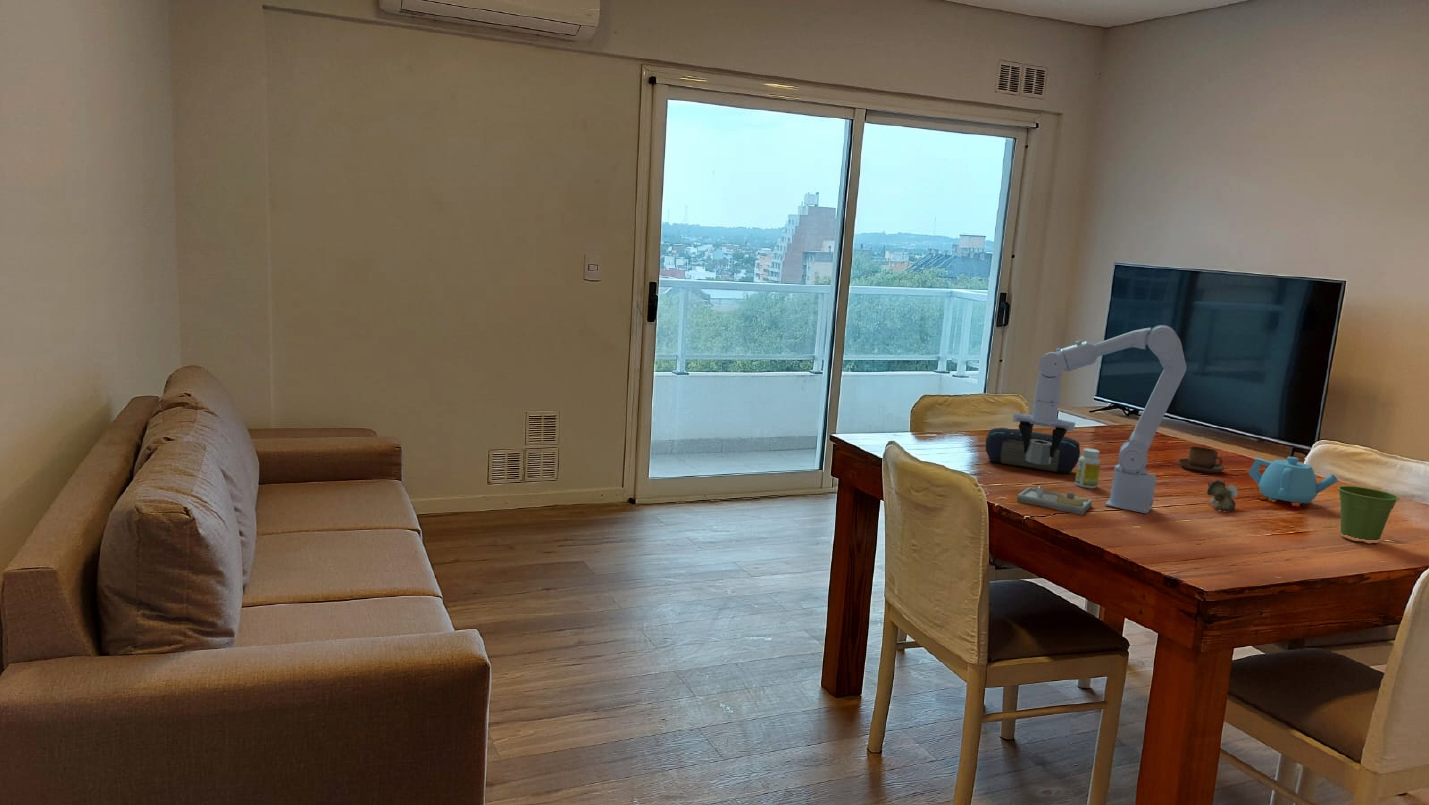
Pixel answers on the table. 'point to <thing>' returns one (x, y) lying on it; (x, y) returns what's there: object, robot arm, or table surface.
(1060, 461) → the portable speaker
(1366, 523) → the plant pot
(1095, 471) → the supplement bottle
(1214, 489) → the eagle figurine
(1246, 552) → the table surface
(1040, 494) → the carrier pin
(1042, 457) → the grey hexagonal nut
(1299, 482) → the teapot
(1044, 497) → the carrier board
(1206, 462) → the cup and saucer
